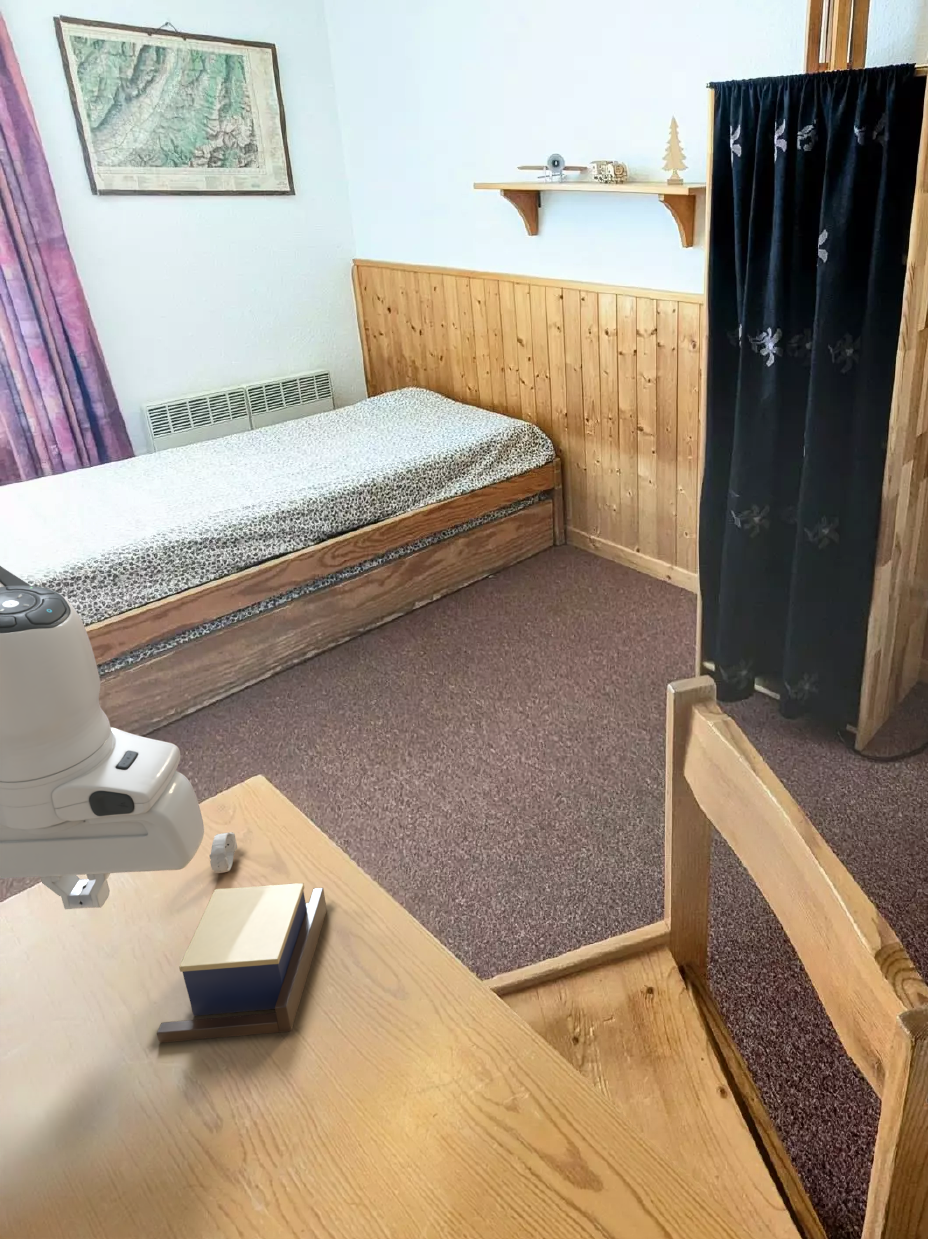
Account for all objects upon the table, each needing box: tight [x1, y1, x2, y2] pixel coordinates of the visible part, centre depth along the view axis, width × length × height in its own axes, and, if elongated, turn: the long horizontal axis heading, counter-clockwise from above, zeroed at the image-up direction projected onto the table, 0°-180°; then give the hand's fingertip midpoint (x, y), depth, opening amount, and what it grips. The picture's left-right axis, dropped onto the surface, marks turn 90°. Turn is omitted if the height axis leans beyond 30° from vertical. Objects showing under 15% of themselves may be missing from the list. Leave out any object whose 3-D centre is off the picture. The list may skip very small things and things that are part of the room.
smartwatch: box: [209, 831, 238, 874], centre depth 88 cm, size 4×2×4 cm, turn 13°
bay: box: [156, 887, 328, 1044], centre depth 76 cm, size 11×13×3 cm
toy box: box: [178, 882, 307, 1017], centre depth 76 cm, size 8×8×6 cm
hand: (88, 902), depth 72 cm, fingers closed
